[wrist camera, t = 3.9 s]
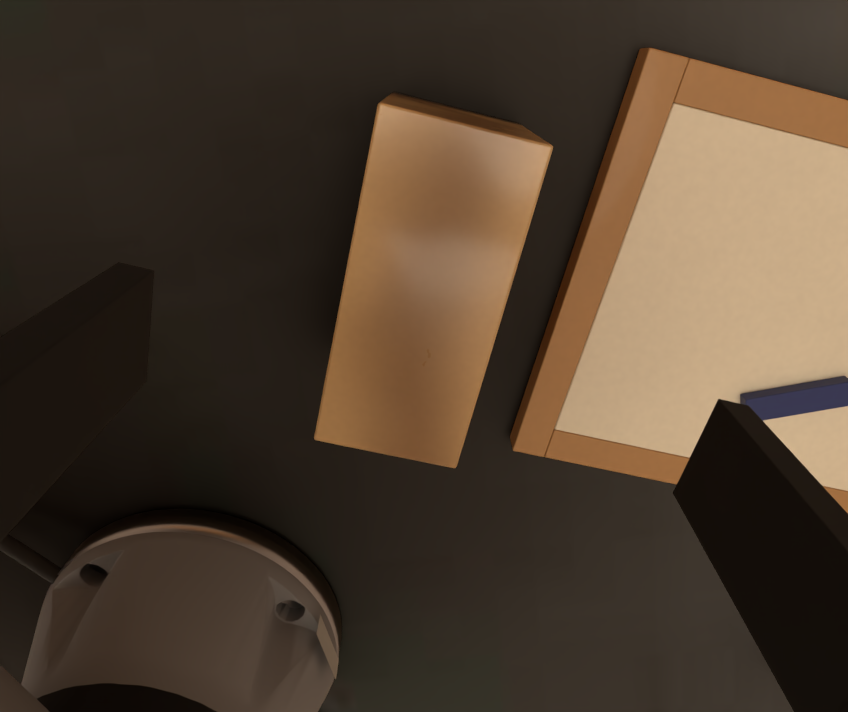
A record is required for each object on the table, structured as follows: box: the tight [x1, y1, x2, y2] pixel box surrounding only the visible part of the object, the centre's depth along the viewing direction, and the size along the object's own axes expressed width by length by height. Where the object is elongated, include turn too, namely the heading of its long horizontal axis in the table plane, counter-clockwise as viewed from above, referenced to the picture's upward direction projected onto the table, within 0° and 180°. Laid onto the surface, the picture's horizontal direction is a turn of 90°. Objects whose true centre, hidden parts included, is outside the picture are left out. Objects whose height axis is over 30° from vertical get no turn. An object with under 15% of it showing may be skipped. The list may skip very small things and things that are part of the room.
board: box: [510, 48, 848, 513], centre depth 27 cm, size 20×17×1 cm
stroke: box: [740, 376, 848, 420], centre depth 28 cm, size 4×1×1 cm, turn 102°
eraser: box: [314, 92, 553, 468], centre depth 23 cm, size 5×11×8 cm, turn 167°
